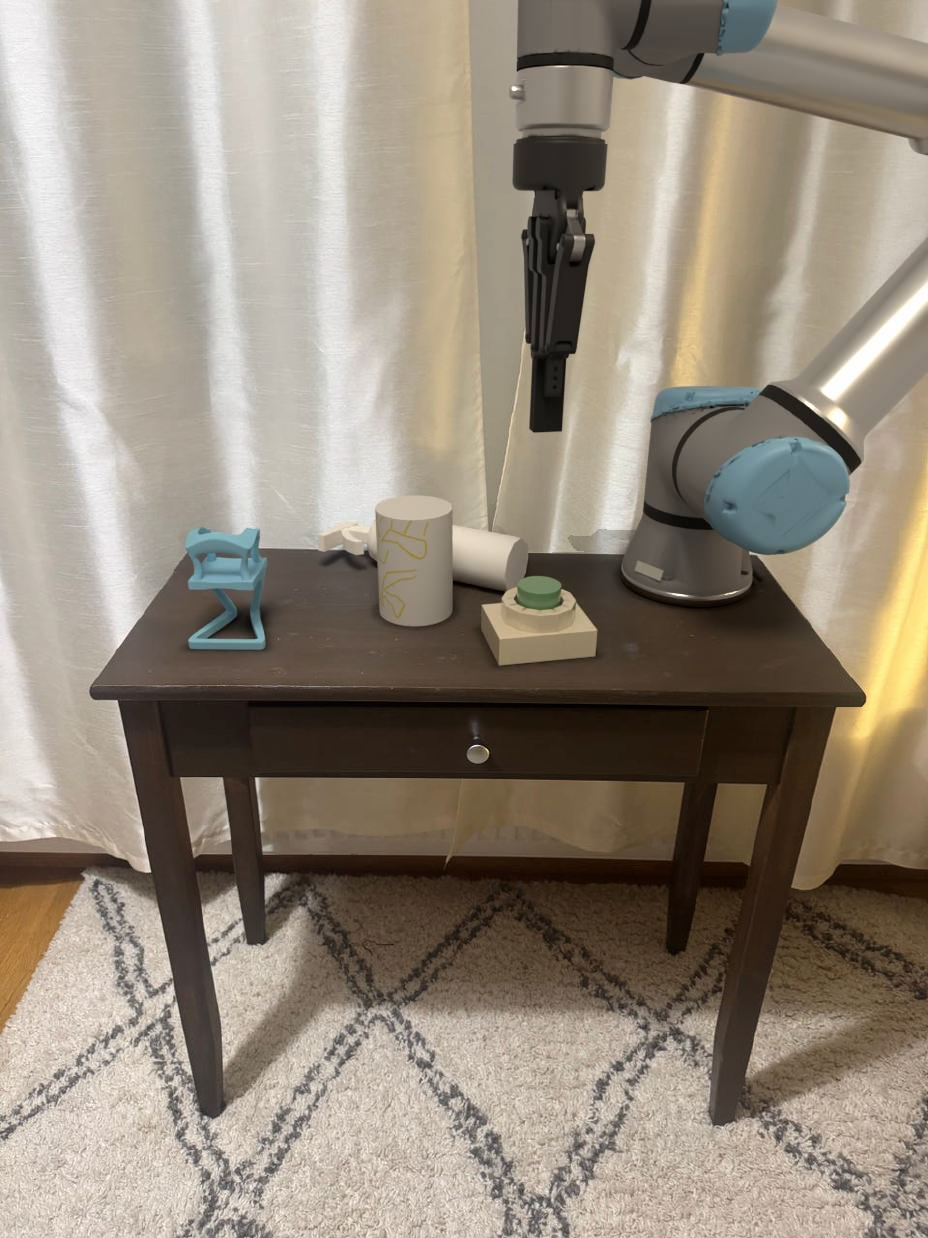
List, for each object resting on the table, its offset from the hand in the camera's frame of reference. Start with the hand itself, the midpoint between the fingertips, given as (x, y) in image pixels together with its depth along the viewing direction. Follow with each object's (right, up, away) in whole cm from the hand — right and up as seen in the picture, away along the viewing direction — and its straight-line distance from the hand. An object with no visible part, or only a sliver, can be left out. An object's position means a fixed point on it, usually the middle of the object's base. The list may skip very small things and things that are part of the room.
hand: (545, 429), depth 78 cm
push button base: (0, -20, +10) cm, 22 cm away
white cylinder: (-13, -17, +17) cm, 27 cm away
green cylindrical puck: (0, -16, +8) cm, 18 cm away
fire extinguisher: (-1, -11, +21) cm, 24 cm away
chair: (-32, -19, +12) cm, 39 cm away
